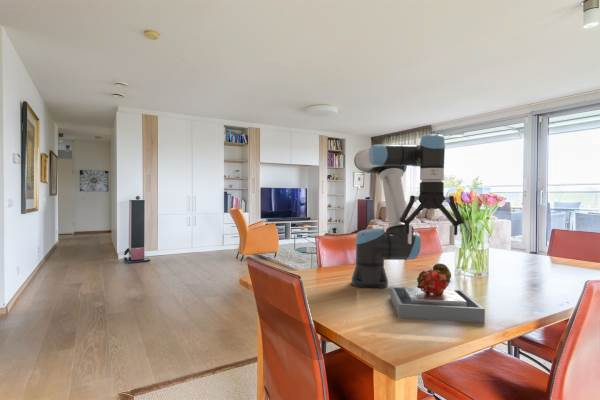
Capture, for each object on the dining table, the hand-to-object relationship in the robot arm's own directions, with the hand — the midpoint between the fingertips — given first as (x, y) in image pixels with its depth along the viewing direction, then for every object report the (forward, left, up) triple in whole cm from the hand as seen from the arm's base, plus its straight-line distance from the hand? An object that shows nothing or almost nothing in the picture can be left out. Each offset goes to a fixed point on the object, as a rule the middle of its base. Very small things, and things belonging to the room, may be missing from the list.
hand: (430, 244), depth 115 cm
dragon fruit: (0, -6, -15) cm, 16 cm away
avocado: (+15, +39, -21) cm, 47 cm away
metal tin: (0, -6, -20) cm, 21 cm away
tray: (0, -6, -21) cm, 22 cm away
